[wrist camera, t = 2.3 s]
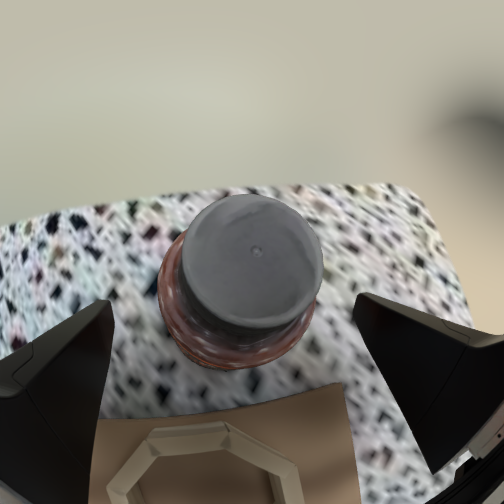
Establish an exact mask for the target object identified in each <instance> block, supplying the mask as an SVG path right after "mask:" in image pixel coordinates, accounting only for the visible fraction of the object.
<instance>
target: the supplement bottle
mask: <svg viewBox="0 0 504 504" xmlns="http://www.w3.org/2000/svg"><path fill="white" fill-rule="evenodd" d="M323 270H324V264H323V254H322V250H321V247H320V245H319V242H318V239H317V237H316V235H315V233H314V231H313V229H312V228H311V227H310V226H309V224H308V222H307V221H306V220H305V219H304V218H303V217H302V216H301V215H300V214H299V213H298V212H297V211H295V210H294V209H292V208H290V207H289V206H287V205H286V204H284V203H282V202H280V201H278V200H276V199H273V198H269V197H265V196H261V195H255V194H240V195H233V196H228V197H225V198H222V199H220V200H218V201H216V202H213V203H212V204H210V205H209V206H207V207H206V208H205V209H203V210H202V211H201V212H200V213H199V214H198V215H197V216H196V217H195V219H194V220H193V221H192V223H191V224H190V226H189V228H188V229H186V230H185V231H183V233H182V234H181V235H179V236H178V238H177V239H176V240H175V241H174V242H173V244H172V245H171V247H170V248H169V249H168V251H167V253H166V255H165V257H164V259H163V262H162V264H161V268H160V271H159V275H158V283H157V284H158V287H157V290H158V301H159V307H160V311H161V314H162V317H163V319H164V322H165V324H166V326H167V328H168V330H169V332H170V334H171V336H172V337H173V338H174V340H175V342H176V344H177V346H178V347H179V348H180V350H181V351H182V352H183V354H184V355H185V356H187V357H188V358H189V359H190V360H191V361H192V362H194V363H196V364H198V365H200V366H203V367H206V368H209V369H213V370H223V371H225V372H227V371H226V370H236V369H244V368H252V367H257V366H260V365H263V364H266V363H269V362H271V361H273V360H275V359H277V358H279V357H280V356H282V355H284V354H285V353H286V352H288V351H289V350H290V349H291V348H292V347H293V346H294V345H295V344H296V343H297V342H298V341H299V340H300V339H301V337H302V336H303V334H304V332H305V331H306V330H307V328H308V326H309V324H310V321H311V319H312V316H313V312H314V309H315V303H316V295H317V293H318V292H319V289H320V286H321V283H322V277H323Z"/></svg>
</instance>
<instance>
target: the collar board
mask: <svg viewBox="0 0 504 504" xmlns="http://www.w3.org/2000/svg"><path fill="white" fill-rule="evenodd" d="M88 504H361V496H360V488H359V480H358V473H357V466H356V460H355V453H354V447H353V441H352V435H351V429H350V424H349V418H348V413H347V408H346V403H345V398H344V393H343V388H342V383H332V384H329V385H326V386H322V387H319V388H316V389H313V390H309V391H306V392H302V393H298V394H295V395H291V396H287V397H283V398H279V399H275V400H271V401H266V402H262V403H257V404H252V405H248V406H242V407H237V408H232V409H226V410H220V411H213V412H206V413H199V414H191V415H182V416H171V417H158V418H141V419H98V421H97V427H96V433H95V440H94V447H93V455H92V463H91V472H90V485H89V500H88Z"/></svg>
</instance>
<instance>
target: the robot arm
mask: <svg viewBox="0 0 504 504" xmlns="http://www.w3.org/2000/svg"><path fill="white" fill-rule="evenodd" d="M353 318H354V320H355V322H356V325H357V327H358V329H359V331H360V334H361V336H362V338H363V340H364V343H365V345H366V347H367V349H368V351H369V352H370V354H371V356H372V358H373V360H374V361H375V363H376V365H377V367H378V369H379V370H380V372H381V374H382V376H383V378H384V379H385V381H386V383H387V385H388V387H389V389H390V391H391V392H392V394H393V396H394V398H395V400H396V402H397V404H398V406H399V408H400V410H401V412H402V413H403V415H404V417H405V419H406V421H407V423H408V425H409V427H410V429H411V431H412V434H413V436H414V438H415V440H416V442H417V444H418V446H419V448H420V450H421V452H422V454H423V456H424V459H425V461H426V463H427V465H428V467H429V469H430V472H431V473H432V475H434V474H436V473H437V472H439V471H440V470H442V469H443V468H445V467H446V466H448V465H449V464H450V463H452V462H453V461H454V460H456V459H457V458H458V457H460V456H461V455H462V454H464V453H465V452H466V451H467V450H469V452H470V453H471V454H472V457H471V458H469V459H468V460H467V461H466V462H464V463H463V464H462V465H461V466H460V467H459V468H458V469H457V470H456V472H455V478H454V483H453V484H452V485H450V486H449V487H448V488H446V489H445V490H444V491H442V492H441V493H440V494H438V495H437V496H435V497H434V498H432V499H431V500H429V501H428V502H426V503H425V504H504V334H503V335H492V334H488V333H485V332H481V331H478V330H475V329H472V328H468V327H465V326H462V325H459V324H456V323H453V322H450V321H447V320H444V319H440V318H439V317H436V316H433V315H430V314H427V313H425V312H422V311H419V310H416V309H413V308H411V307H408V306H405V305H402V304H399V303H397V302H394V301H391V300H388V299H385V298H382V297H380V296H377V295H374V294H371V293H368V292H365V293H359V294H358V295H357V298H356V301H355V305H354V309H353ZM114 328H115V321H114V316H113V311H112V306H111V302H110V301H109V300H97V301H95V302H94V303H92V304H90V305H89V306H87V307H85V308H84V309H82V310H81V311H79V312H77V313H76V314H74V315H72V316H71V317H69V318H67V319H66V320H64V321H63V322H61V323H59V324H58V325H56V326H55V327H53V328H51V329H50V330H48V331H47V332H45V333H44V334H42V335H40V336H39V337H37V338H36V339H34V340H33V341H32V342H29V343H28V344H26V345H25V346H23V347H22V348H20V349H18V350H17V351H15V352H14V353H12V354H10V355H8V356H7V357H5V358H3V359H2V360H0V504H88V500H89V485H90V472H91V463H92V455H93V447H94V440H95V433H96V427H97V421H98V416H99V410H100V405H101V400H102V395H103V391H104V386H105V382H106V377H107V373H108V369H109V364H110V357H111V349H112V342H113V335H114Z"/></svg>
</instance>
